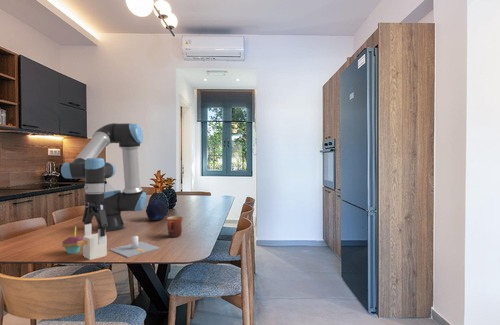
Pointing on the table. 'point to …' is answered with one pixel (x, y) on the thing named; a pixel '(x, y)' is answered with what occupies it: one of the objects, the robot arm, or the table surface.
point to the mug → (174, 226)
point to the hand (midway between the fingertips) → (94, 241)
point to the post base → (132, 251)
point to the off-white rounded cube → (93, 247)
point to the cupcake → (72, 244)
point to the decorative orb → (156, 210)
